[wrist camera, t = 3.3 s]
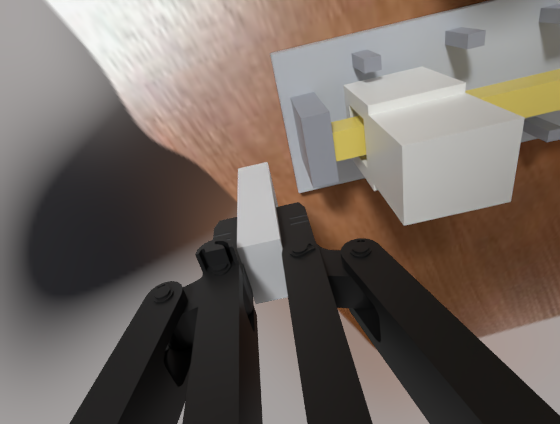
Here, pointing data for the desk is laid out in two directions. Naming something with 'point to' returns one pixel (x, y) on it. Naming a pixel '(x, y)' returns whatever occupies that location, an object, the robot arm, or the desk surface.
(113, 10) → the desk surface
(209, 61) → the desk surface
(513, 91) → the comb rig
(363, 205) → the desk surface
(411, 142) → the sleeve
